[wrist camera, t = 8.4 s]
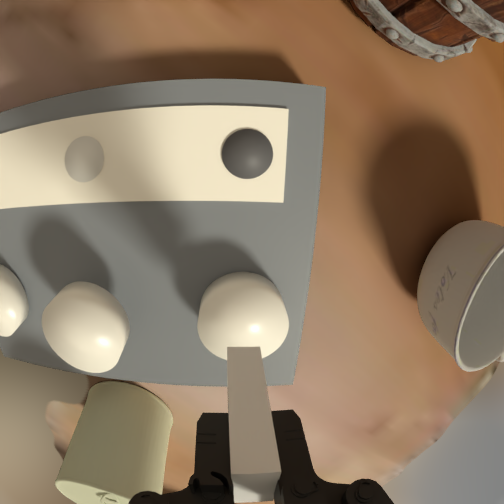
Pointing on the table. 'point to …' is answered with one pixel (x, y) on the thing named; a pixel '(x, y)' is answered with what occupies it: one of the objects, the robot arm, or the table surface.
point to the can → (116, 446)
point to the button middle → (86, 327)
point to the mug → (434, 24)
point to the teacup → (466, 293)
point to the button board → (162, 211)
